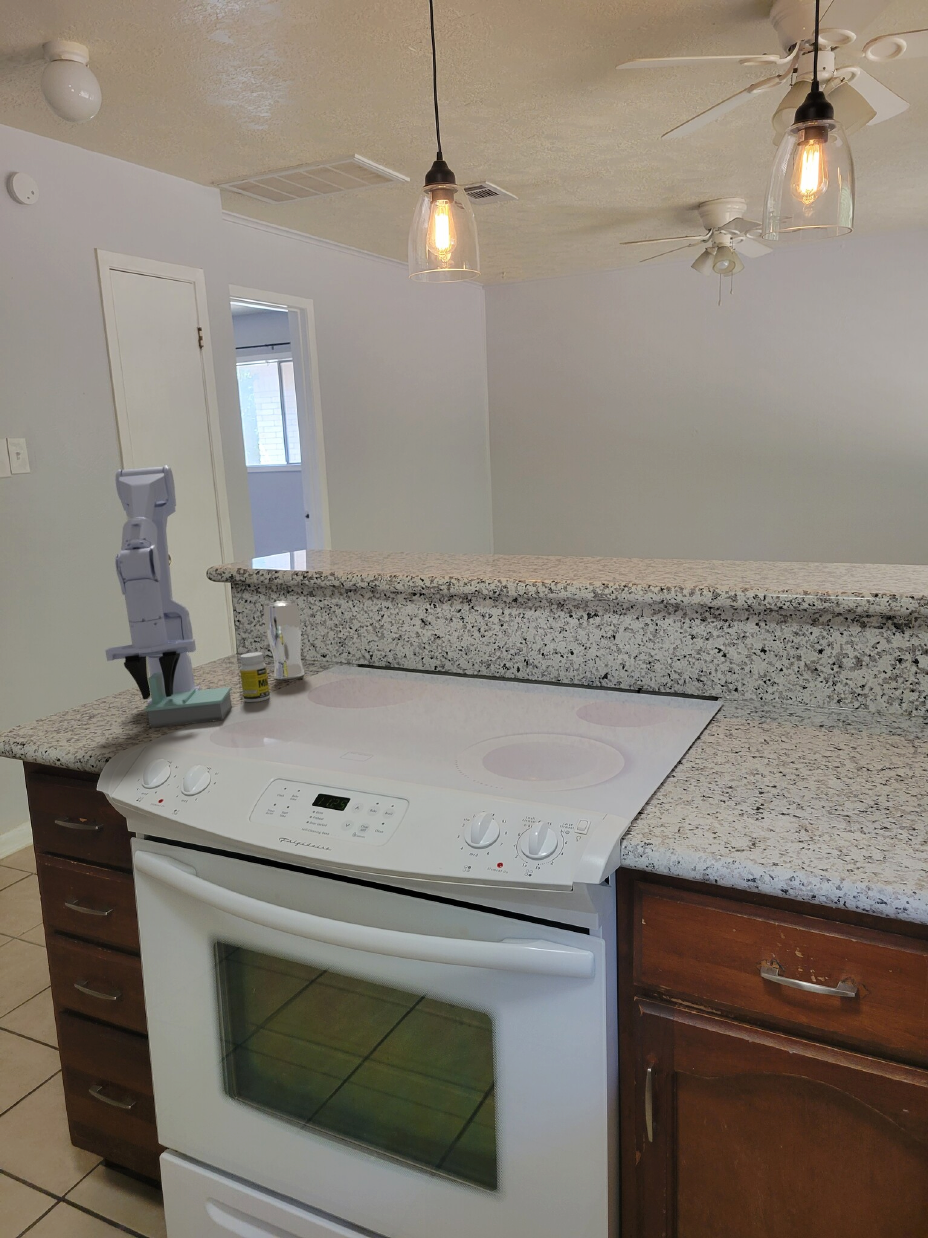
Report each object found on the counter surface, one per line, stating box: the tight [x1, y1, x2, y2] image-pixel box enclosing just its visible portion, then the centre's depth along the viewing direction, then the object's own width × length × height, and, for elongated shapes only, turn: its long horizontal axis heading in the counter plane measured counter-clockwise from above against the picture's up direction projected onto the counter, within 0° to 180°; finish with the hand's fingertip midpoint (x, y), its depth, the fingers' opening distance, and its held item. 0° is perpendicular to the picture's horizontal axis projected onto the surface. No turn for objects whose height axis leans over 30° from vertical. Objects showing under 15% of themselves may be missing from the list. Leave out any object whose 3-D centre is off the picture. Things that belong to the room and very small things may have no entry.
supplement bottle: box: [239, 651, 271, 703], centre depth 161 cm, size 5×5×8 cm
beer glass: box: [263, 599, 305, 681], centre depth 178 cm, size 7×7×15 cm
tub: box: [147, 691, 233, 729], centre depth 153 cm, size 9×12×3 cm
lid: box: [144, 672, 232, 712], centre depth 152 cm, size 10×13×5 cm
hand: (158, 696), depth 152 cm, fingers open, 3 cm apart
